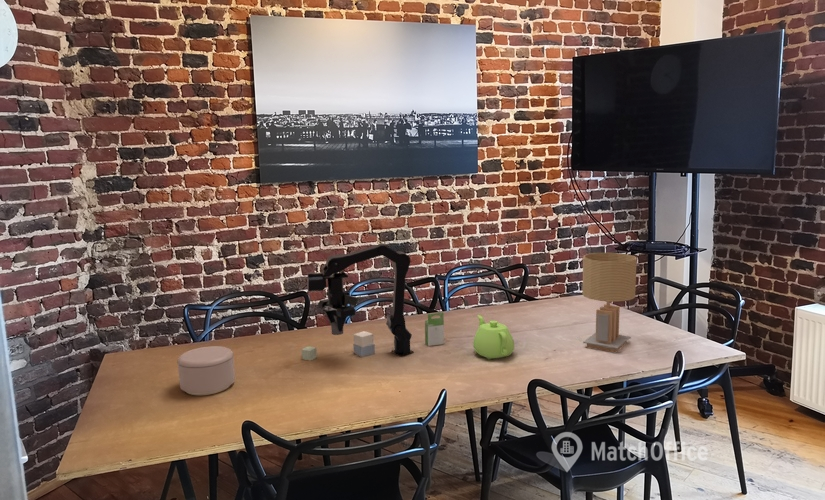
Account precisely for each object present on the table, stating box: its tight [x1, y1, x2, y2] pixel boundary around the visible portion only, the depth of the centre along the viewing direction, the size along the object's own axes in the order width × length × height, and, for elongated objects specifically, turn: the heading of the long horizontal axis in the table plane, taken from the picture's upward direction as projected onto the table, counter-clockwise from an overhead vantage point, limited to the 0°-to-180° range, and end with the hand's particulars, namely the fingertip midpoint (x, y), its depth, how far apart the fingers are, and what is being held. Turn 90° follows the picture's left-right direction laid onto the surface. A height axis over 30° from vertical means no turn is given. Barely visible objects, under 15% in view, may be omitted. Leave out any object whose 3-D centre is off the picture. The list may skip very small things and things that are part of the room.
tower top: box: [353, 330, 375, 347], centre depth 231 cm, size 5×5×4 cm
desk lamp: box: [581, 252, 638, 353], centre depth 231 cm, size 20×20×35 cm
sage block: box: [301, 345, 318, 361], centre depth 227 cm, size 4×4×4 cm
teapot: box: [472, 314, 515, 360], centre depth 227 cm, size 22×15×13 cm
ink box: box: [424, 311, 445, 347], centre depth 239 cm, size 7×4×13 cm, turn 106°
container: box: [177, 345, 236, 396], centre depth 202 cm, size 18×18×12 cm
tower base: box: [353, 343, 376, 358], centre depth 231 cm, size 6×6×4 cm
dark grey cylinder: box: [330, 321, 344, 336], centre depth 223 cm, size 4×4×4 cm
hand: (337, 329), depth 223 cm, fingers closed on dark grey cylinder, 4 cm apart
